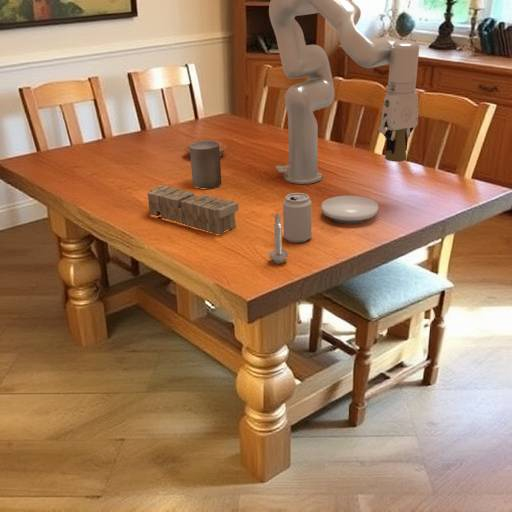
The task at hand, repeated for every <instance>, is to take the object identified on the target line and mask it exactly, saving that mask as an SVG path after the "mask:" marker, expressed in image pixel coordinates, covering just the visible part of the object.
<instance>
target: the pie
mask: <svg viewBox="0 0 512 512" xmlns="http://www.w3.org/2000/svg"><path fill="white" fill-rule="evenodd" d="M200 141H201V140H198V141H196V142H200ZM205 141H211V139H210V140H205ZM214 141H215V142H218V143H219V151H220V158H221V157H222V156H223V154H224V152H225V150H226V149H227V145H226V144H225V143H222V142H221V141H218V140H214ZM192 143H193V142H191V143H190V144H189V145H191V144H192ZM189 145H187V146H184V150H185V152H187V153H188V156H190V147H189Z"/></svg>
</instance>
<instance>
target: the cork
mask: <svg viewBox="0 0 512 512" xmlns="http://www.w3.org/2000/svg"><path fill="white" fill-rule="evenodd" d="M407 129H408V128H407ZM407 129H402V130H397V131H395V132H396V133H395V138H394V140H396V143H395V151H394V153H393V154H392V151H391V150H389V151H386V150H385V156H384V159H385V160H387V161H389V162H394V163H395V162H396V163H397V162H399V163H401V162H405V161H407V151H406V142H405V133H406V131H407ZM390 134H391V131H390Z"/></svg>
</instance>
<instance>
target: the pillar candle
mask: <svg viewBox="0 0 512 512" xmlns="http://www.w3.org/2000/svg"><path fill="white" fill-rule="evenodd" d="M199 141H200V142H197V141H194V142H191V143H192V144H191V143H190V144H191V145H190V144H189V145H188V146H189V147H190V155H189V156H190V166H191V180H192V185H194V186H196V187H199V188H212V189H215V188H214V187H217V186H219V185H221V183H222V182H223V181H222V172H221V171H222V169H221V157H220V151H219V143H218V142H219V141H218V142H215V141H216V140H210V141H206V140H199ZM222 184H223V183H222ZM194 186H193V187H194ZM221 186H222V185H221ZM219 187H220V186H219ZM217 188H218V187H217Z"/></svg>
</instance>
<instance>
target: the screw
mask: <svg viewBox="0 0 512 512" xmlns="http://www.w3.org/2000/svg"><path fill="white" fill-rule="evenodd" d="M273 225H274V226H273V227H274V229H273V230H274V231H273V232H274V235H273V236H274V249H272V250H270V251H269V252H268V256H269V258H270V259H272V262H273V263H274V264H277V265H280V264H283V263H284V262H285V259H286V258H288V256H289V252H288V251H286V250H284V249H282V248H283V234H282V232H283V227H282V221H281V213H278V212H277V213H275V214H274V224H273Z"/></svg>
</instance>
